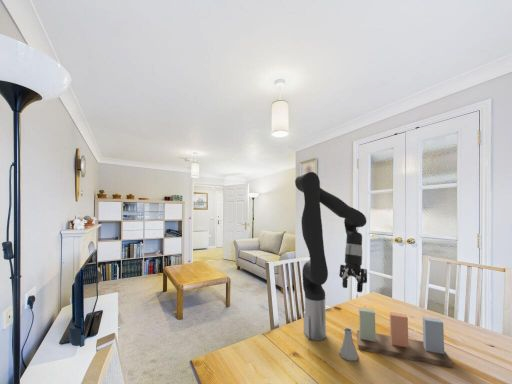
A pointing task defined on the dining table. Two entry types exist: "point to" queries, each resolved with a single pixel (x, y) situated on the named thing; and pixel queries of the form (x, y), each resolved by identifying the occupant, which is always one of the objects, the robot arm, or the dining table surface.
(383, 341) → the brown wooden flat board
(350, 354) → the flask
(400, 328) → the terracotta tab
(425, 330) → the slate tab
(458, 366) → the dining table surface
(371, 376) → the dining table surface
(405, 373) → the dining table surface
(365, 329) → the sage tab
